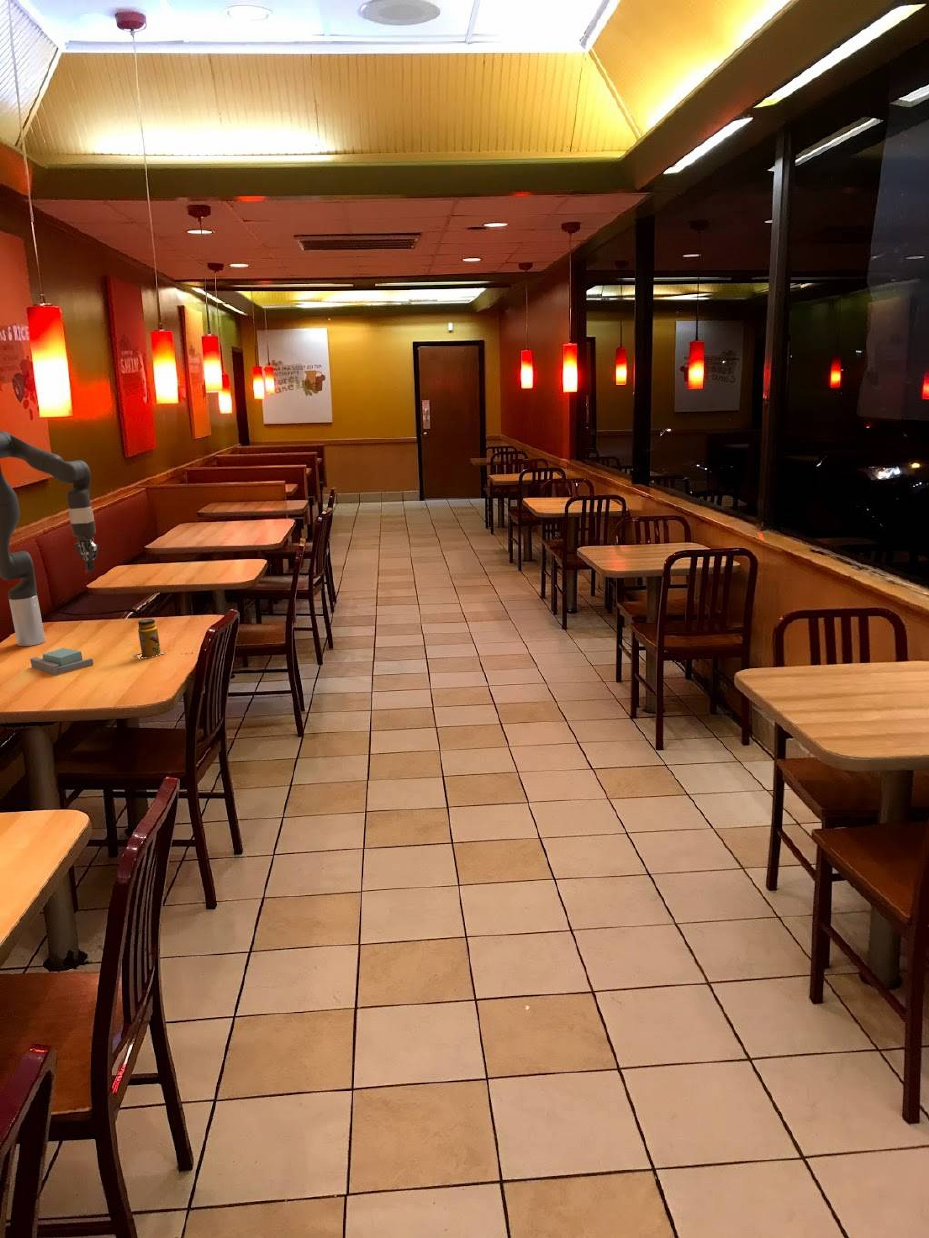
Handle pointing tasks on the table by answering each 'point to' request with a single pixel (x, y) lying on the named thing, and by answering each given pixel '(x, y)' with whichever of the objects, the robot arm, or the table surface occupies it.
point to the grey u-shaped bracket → (55, 668)
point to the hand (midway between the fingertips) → (90, 571)
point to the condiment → (148, 638)
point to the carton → (63, 656)
